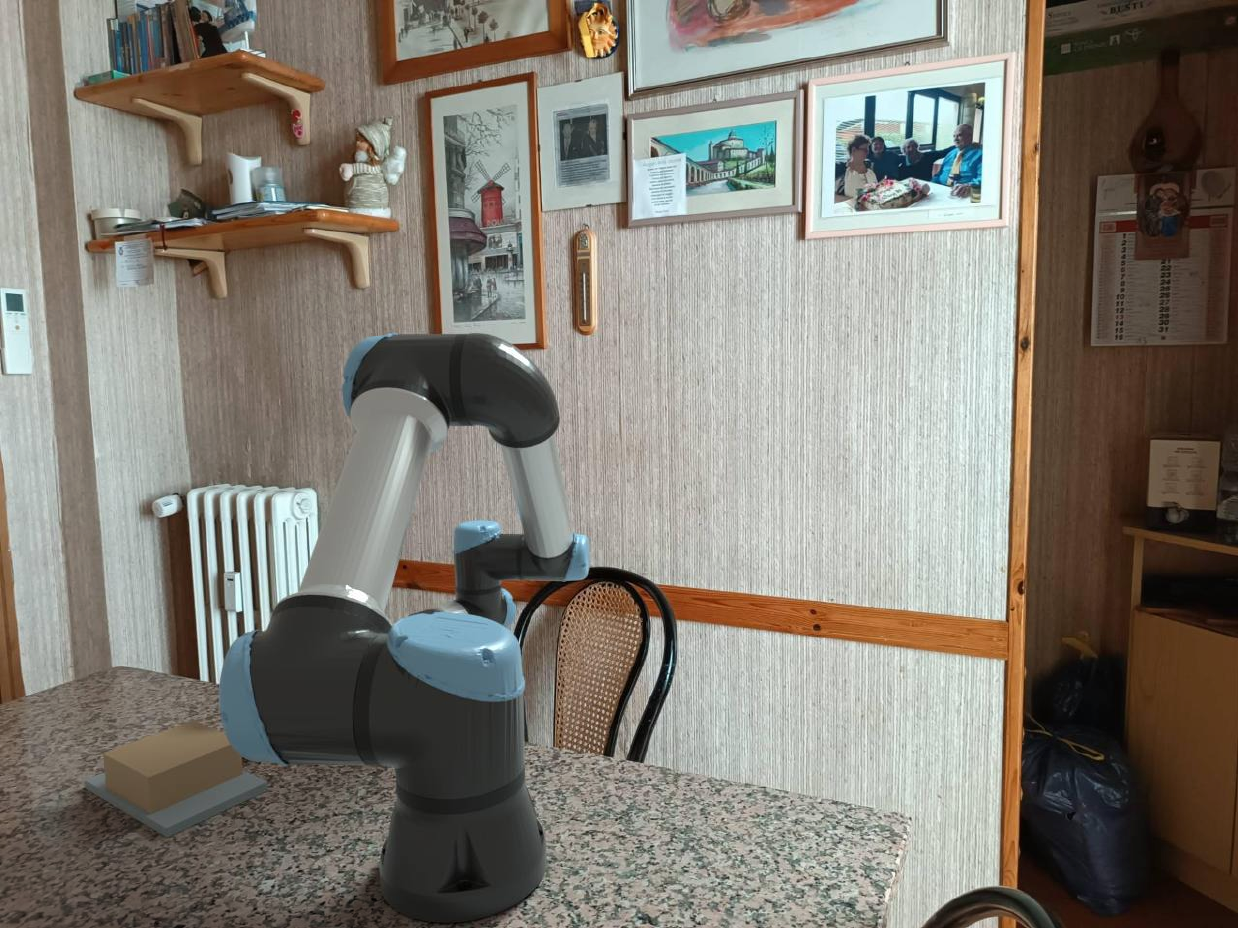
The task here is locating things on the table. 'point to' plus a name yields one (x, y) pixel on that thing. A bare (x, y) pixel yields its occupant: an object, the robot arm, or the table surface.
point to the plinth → (188, 805)
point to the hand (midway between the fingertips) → (315, 674)
